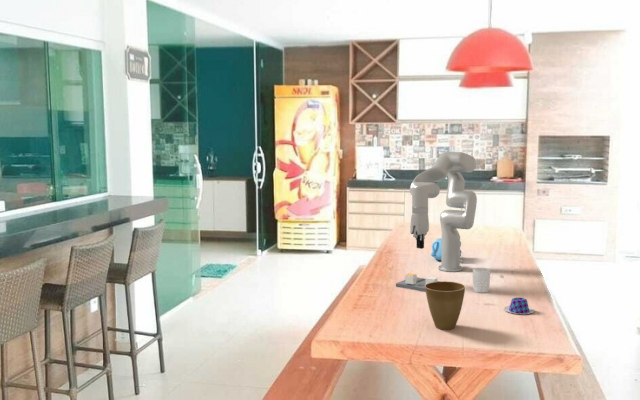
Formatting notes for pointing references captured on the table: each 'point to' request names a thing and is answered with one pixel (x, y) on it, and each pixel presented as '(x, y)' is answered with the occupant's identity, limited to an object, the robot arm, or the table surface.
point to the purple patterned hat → (519, 306)
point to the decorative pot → (438, 249)
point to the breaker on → (430, 280)
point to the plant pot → (445, 303)
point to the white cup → (481, 279)
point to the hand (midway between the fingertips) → (420, 248)
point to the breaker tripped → (411, 278)
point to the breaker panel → (414, 285)
